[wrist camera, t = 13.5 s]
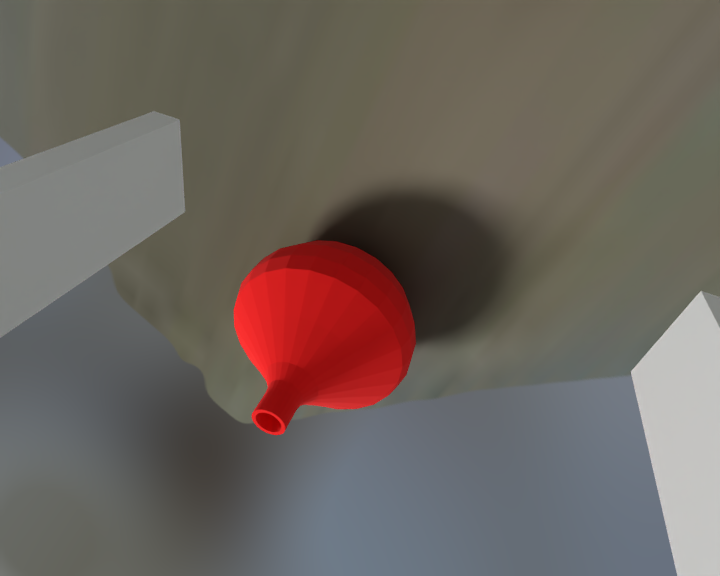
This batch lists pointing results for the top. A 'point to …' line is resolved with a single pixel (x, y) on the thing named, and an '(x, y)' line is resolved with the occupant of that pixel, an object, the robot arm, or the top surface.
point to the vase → (323, 330)
